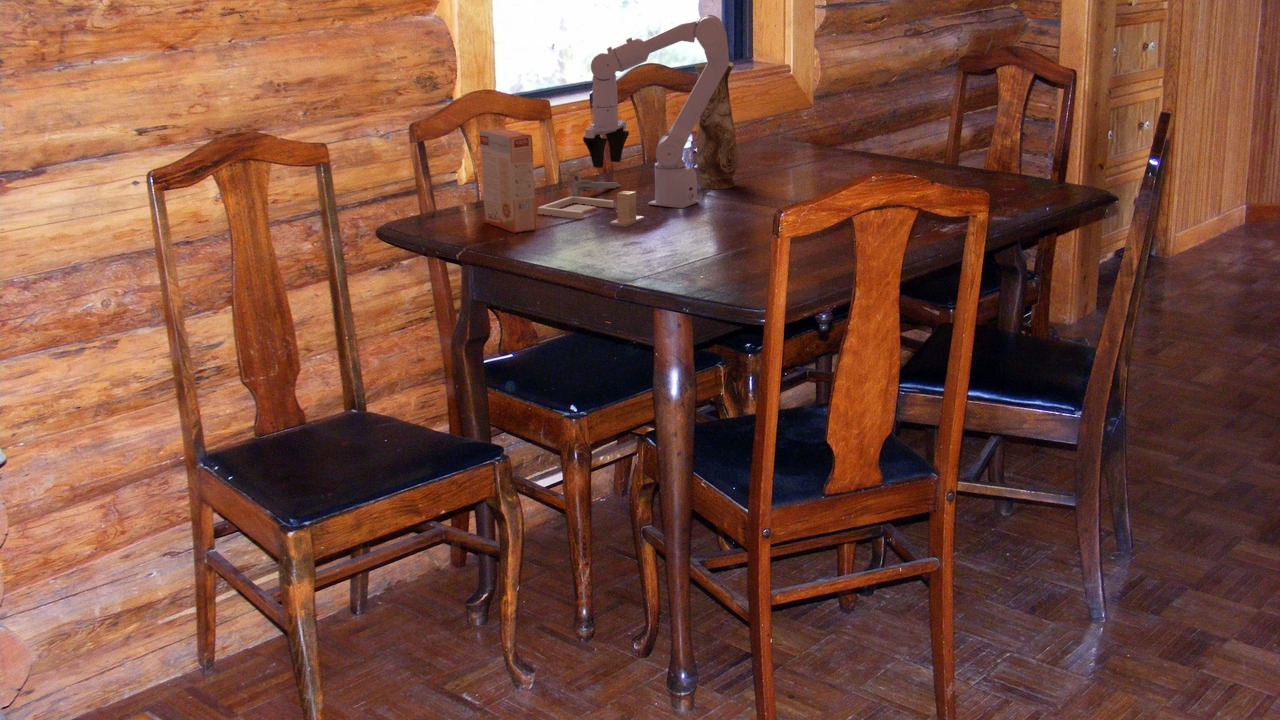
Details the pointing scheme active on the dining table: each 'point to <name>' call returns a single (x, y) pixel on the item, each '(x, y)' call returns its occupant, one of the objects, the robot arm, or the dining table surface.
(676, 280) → the dining table surface
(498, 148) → the cracker box
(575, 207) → the tile
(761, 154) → the dining table surface
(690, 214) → the dining table surface
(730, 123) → the vase
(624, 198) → the scraper
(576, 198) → the frame
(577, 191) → the caliper
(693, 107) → the robot arm
